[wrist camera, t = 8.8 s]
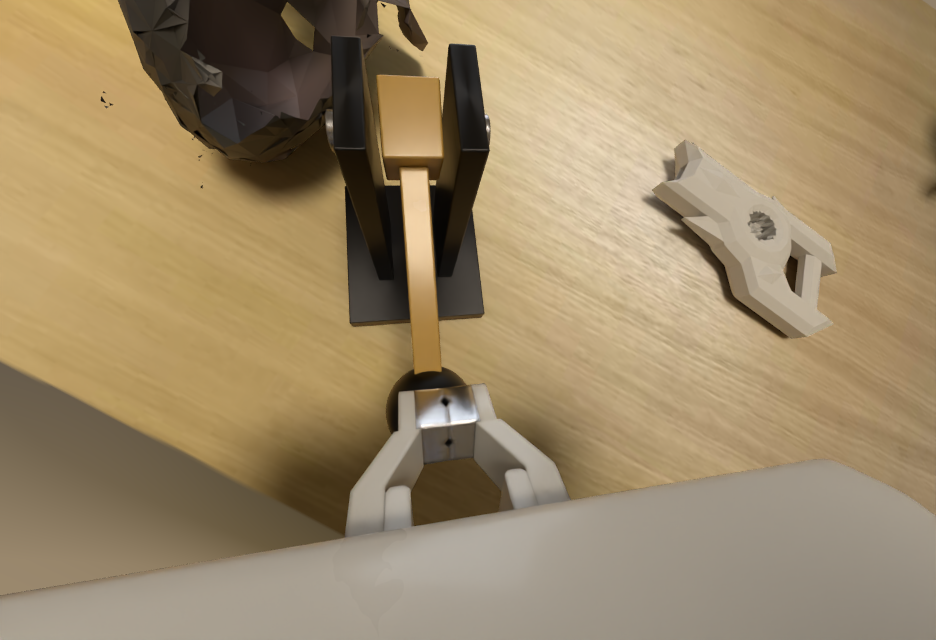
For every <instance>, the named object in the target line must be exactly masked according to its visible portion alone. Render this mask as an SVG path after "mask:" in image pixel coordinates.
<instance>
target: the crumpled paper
mask: <svg viewBox="0 0 936 640" xmlns="http://www.w3.org/2000/svg"><path fill="white" fill-rule="evenodd" d="M378 1H382V2H386V3H390V4H394V5H396V6H397V8H398V11H399V12H398V22H399V27H400V29H401V31H402V33H403V35H404V36H405V37H406V38H407V39H408V40H409V41H410V42H411V43H412V44H413V45H414V46H416V47H417V48H418V49H419V50H421V51H423V50H424V48H425V47H426V45H427V44H428V42H427V40H426V38H425V36H424V34H423V32H422V30H421V29H420V27H419V25H418V23H417V21H416V19H415V17H414V15H413V13H412V11H411V9H410V5H409V0H118V2H119V4H120V7H121V10H122V12H123V15H124V17H125V20H126V23H127V25H128V28H129V30H130V33H131V36H132V38H133V41H134V44H135V46H136V49H137V52H138V55H139V58H140V61H141V64H142V66H143V69H144V70H145V71H146V73H147V74H148V75H149V76H150V78H151V79H152V80H153V81H154V83H155V84H156V85H157V86H158V87H159V89H160V90H161V91H162V93H163V95H164V97H165V100H166V101H167V103H168V105H169V106H170V108H171V110H172V112H173V113H174V115H175V117H176V118H177V120H178V122H179V124H180V125H181V126H182V127H183V128H184V129H186V130H187V131H189V132H190V133H191V134H193V135H194V138H195V137H196V138H197V139H198V140H200V141H201V142H202V143H203V144H204V145H205V146H206V147H208V148H209V149H217V150H218V151H219V152H221V153H222V154H223V155H224V156H226V157H227V158H228V159H234V160H244V161H253V162H263V163H265V162H271V161H276V160H282V159H286V158H287V157H288V156H289V155H290V154H291V153H292V152H293V151H294V150H296V149H297V148H298V147H299V146H300V145H301V144H302V143H304V142H305V141H306V140H307V139H308V138H309V137H310V136H311V135H313V134H314V133H315V132H316V131H317V130H318V129H320V128H321V127H322V126H323V125H324V123H325V110H327V109H332V77H331V42H330V38H331V36H332V35H333V36H348V37H359V38H360V39H361V42H362V48H363V55H364V61H365V60H366V58H367V57H368V56H369V54H370V53H371V52H372V50H373V49H374V47H375V46H376V45H377V43H378V42H379V41H380V39H381V38H382V37H383V35H380V34H379V30H378V15H377V2H378ZM287 2H288V3H289V4H290V5H291V6H292V7H294V8H295V9H296V10H297V11H298V12H299V13H300V14H301V15H302V16H303V17H304V18H305V19H306V20H308V21H309V22H310V23H311V24H312V25H313V26H314V27H315V31H314V45H313V51H312V50H311V49H309V48H308V47H306V46H305V45H304V44H302V43H301V42H299V41H298V40H297V39H295V37H294V35H293V34H292V32H291V31H290V29H289V28H288V26H287V24H286V23H285V21H284V20H283V18H282V17H281V13H282V11H283V9H284V7H285V5H286V3H287ZM381 4H382V3H381ZM382 5H383V7H385V6H386V5H384V4H382ZM396 22H397V21H396ZM389 48H390V49H391V47H390V46H389ZM397 51H398V50H397ZM103 93H105V92H104V91H103ZM101 101H102V102H104V103H106V102H105V101H104V99H103V98H102V96H101ZM111 105H113V104H111V103H110V106H111ZM105 107H106V108H108V106H105ZM192 140H193V139H192ZM300 143H301V144H300ZM297 145H298V146H297ZM295 146H296V147H295ZM293 147H295V148H293ZM208 148H207V149H208ZM291 148H293V149H292V150H291ZM204 151H205V150H204ZM212 154H213V153H212ZM201 156H202V155H201ZM201 156H198V157H199V158H200V157H201ZM199 161H200V159H199ZM250 166H251V165H250ZM202 183H203V182H202ZM201 188H202V189H203V185H202V186H201Z"/></svg>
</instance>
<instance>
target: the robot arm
mask: <svg viewBox="0 0 936 640" xmlns="http://www.w3.org/2000/svg"><path fill="white" fill-rule="evenodd" d="M414 396H415V397H414ZM468 458H474V460H475V461H476V462H477V464H478V465H479V466H480V467H481V468H482V469H483V471H484V472H485V473H486V474H487V475H488V476H489V478H490V479H491V480H492V481H493V482H494V483H495V484H496V486H497V487H498V488H499V489H500V490H501V491H502V494H501V499H500V505H499V511H498V512H496V513H490V514H484V515H479V516H473V517H467V518H461V519H455V520H449V521H443V522H437V523H431V524H425V525H419V526H414V521H413V512H412V502H411V491H412V489H413V487H414V485H415V483H416V481H417V479H418V477H419V475H420V473H421V471H422V469H423V467H424V465H425V464H431V463H437V462H443V461H449V460H458V459H468ZM0 640H936V515H934V514H933V513H931V512H930V511H929V510H927V509H926V508H925V507H923V506H922V505H921V504H919V503H918V502H917V501H915V500H914V499H912V498H911V497H909V496H908V495H906V494H905V493H903V492H901V491H899V490H897V489H895V488H893V487H891V486H889V485H887V484H885V483H883V482H881V481H879V480H877V479H875V478H872V477H870V476H868V475H866V474H864V473H862V472H860V471H858V470H855V469H853V468H851V467H849V466H846V465H844V464H841V463H839V462H836V461H834V460H830V459H813V460H807V461H801V462H795V463H789V464H783V465H777V466H771V467H765V468H759V469H753V470H747V471H741V472H735V473H729V474H723V475H717V476H711V477H705V478H699V479H693V480H688V481H682V482H676V483H670V484H664V485H658V486H652V487H646V488H640V489H634V490H628V491H622V492H616V493H610V494H604V495H598V496H592V497H586V498H580V499H574V500H571V499H570V497H569V495H568V492H567V490H566V488H565V486H564V483H563V481H562V479H561V476H560V474H559V472H558V469H557V467H556V465H555V462H554V461H552V460H551V459H550V458H549V457H547V456H546V455H545V454H544V453H542V452H541V451H540V450H539V449H538V448H536V447H535V446H534V445H533V444H531V443H530V442H529V441H528V440H526V439H525V438H524V437H523V436H522V435H520V434H519V433H518V432H517V431H515V430H514V429H513V428H512V427H511V426H509V425H508V424H507V423H506V422H504V421H503V420H502V419H497V418H496V414H495V411H494V408H493V405H492V402H491V399H490V395H489V392H488V389H487V386H486V384H485V383H482V384H473V385H464V386H455V387H446V388H438V389H425V390H414V391H403V392H399V395H398V431H396V432H393V434H392V435H391V436H390V438H389V439H388V440H387V442H386V443H385V445H384V446H383V447H382V449H381V450H380V452H379V453H378V454H377V456H376V457H375V458H374V460H373V461H372V463H371V464H370V465H369V467H368V468H367V469H366V471H365V472H364V474H363V475H362V476H361V478H360V479H359V481H358V482H357V483H356V485H355V486H354V487H353V489H352V490H351V492H350V500H349V508H348V515H347V523H346V531H345V538H341V539H335V540H329V541H324V542H317V543H312V544H305V545H300V546H294V547H288V548H282V549H276V550H270V551H264V552H258V553H252V554H246V555H240V556H234V557H228V558H222V559H216V560H210V561H204V562H198V563H192V564H186V565H180V566H174V567H168V568H162V569H156V570H150V571H144V572H138V573H132V574H126V575H120V576H114V577H108V578H102V579H96V580H90V581H84V582H78V583H72V584H66V585H60V586H54V587H48V588H42V589H36V590H30V591H24V592H18V593H12V594H6V595H0Z"/></svg>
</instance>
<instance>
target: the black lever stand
mask: <svg viewBox="0 0 936 640" xmlns="http://www.w3.org/2000/svg"><path fill="white" fill-rule="evenodd" d="M330 42H331V77H332V109H327V110H325V127H326V133H327V138H328V142H329V146H330V148H331V150H332V152H334V153H335V154H336V157H337V160H338V163H339V166H340V169H341V172H342V175H343V177H344V180H345V183H346V186H345V202H346V230H347V258H348V286H349V314H350V324H351V325H352V326H354V327H355V326H368V325H382V324H396V323H410V310H409V296H408V282H407V269H406V255H405V242H404V228H403V215H402V201H401V188H400V186H385V185H384V179H383V173H382V167H381V160H380V154H379V148H378V142H377V135H376V129H375V123H374V117H373V111H372V104H371V98H370V92H369V86H368V79H367V73H366V67H365V61H364V55H363V48H362V42H361V39H360V38H359V37H348V36H333V35H332V36H331V38H330ZM442 127H443V143H444V160H443V164H442V168H441V172H440V176H439V179H438V180H436V185H430V199H431V214H432V230H433V245H434V260H435V275H436V290H437V305H438V320H451V319H465V318H479V317H482V316H483V314H484V307H483V298H482V289H481V281H480V272H479V264H478V255H477V247H476V238H475V229H474V221H473V212H472V208H473V204H474V201H475V198H476V194H477V191H478V188H479V184H480V181H481V178H482V174H483V171H484V168H485V164H486V161H487V158H488V154H489V151H490V150H489V144H490V120H489V116H488V115H487V114H485V113H484V105H483V98H482V90H481V82H480V75H479V67H478V60H477V52H476V46H475V45H465V44H449V47H448V58H447V69H446V80H445V91H444V102H443V113H442Z"/></svg>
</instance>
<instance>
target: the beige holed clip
mask: <svg viewBox="0 0 936 640" xmlns="http://www.w3.org/2000/svg"><path fill="white" fill-rule="evenodd" d="M674 152H675V180H672V181H666V182H662V183H661V184H659V185H658V186H657V187H655V188H654V189H653V190H652V191H653V192H654V194H655V195H656V196H657V197H658V198H659V199H660V200H662V201H663V202H664V203H666V204H667V205H668V206H670V207H671V208H672V209H674V210H675V211H676V212H678V213H679V214H681V215H682V216H683V217H685V218H683V219H681V220H682V221H683V222H684V223H685V224H686V225H687V226H689V227H690V228H691V229H692V230H693V231H694V232H695V233H696V234H697V235H698V236H700V237H701V238H702V239H703V240H704V241H705V242H706V243H707V244H708V245H709V246H710V247H711V250H712V252H713V253H714V254H715V255H716V256H717V257H718V259H719V260H720V261H721V262H722V263H723V264H724V265H725V269H726V273H727V277H728V280H729V284H730V288H731V292H732V294H733V296H734V297H735V298H736V299H738V300H739V301H740V302H742V303H743V304H745V305H746V306H747V307H749V308H750V309H751V310H753V311H754V312H756V313H757V314H758V315H760V316H761V317H762V318H764V319H765V320H767V321H768V322H769V323H771V324H772V325H773V326H775V327H776V328H777V329H779V330H780V331H782V332H783V333H784V334H786V335H787V336H788V337H790V338H791V339H792V338H801V337H808V336H810V335H812V334H814V333H816V332H818V331H820V330H822V329H825V328H827V327H829V326H831V325H833V323H832V321H831V320H830V319H829V318H827V317H826V316H825V315H823V314H822V313H821V312H819V311H818V310H817V303H818V294H819V285H820V277H823V276H827V275H831V274H835V273H837V271H836V265H835V259H834V255H833V251H832V247H831V243H830V242H828V241H827V240H826V239H824V238H823V237H822V236H820V235H819V234H818V233H817V232H815V231H814V230H813V229H811V228H810V227H809V226H807V225H806V224H805V223H803V222H802V221H801V220H799V219H798V218H797V217H795V216H794V215H793V214H792V213H790V212H789V211H788V210H786V209H785V208H784V207H783V206H782V204H781V203H780V202H779V201H778V200H777V199H776V198H775V197H774V196H772V199H771V198H769V197H767V196H765V195H763V194H761V193H758V192H756V191H755V190H754V189H753V188H751V187H750V186H749V185H747V184H746V183H745V182H743V181H742V180H741V179H739V178H738V177H737V176H735V175H734V174H733V173H731V172H730V171H729V170H727V169H726V168H725V167H724V166H722V165H721V164H720V163H718V162H717V161H716V160H714V159H713V158H712V157H710V156H709V155H708V154H706V153H705V152H704V151H703V150H702V149H701V148H699V147H698V146H697V145H695V144H694V143H690V142H688V141H686V140H684V141H683V142H682V143H680V144H679V145H678V146H677V147H676V148H675V149H674ZM789 256H792V257H793V258H794V259H796V260H797V261H798V268H797V277H796V285H795V293H794V292H792V291H791V289H790V287H789V284H788V282H787V279H786V277H785V274H784V272H783V269H784V267H785V264H786V262H787V260H788V258H789Z"/></svg>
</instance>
